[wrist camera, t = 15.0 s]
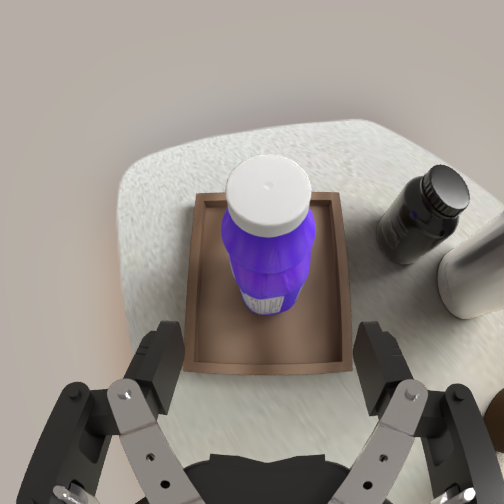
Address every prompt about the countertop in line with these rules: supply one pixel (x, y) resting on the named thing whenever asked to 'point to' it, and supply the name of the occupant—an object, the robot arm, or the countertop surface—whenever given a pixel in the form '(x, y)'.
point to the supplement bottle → (423, 215)
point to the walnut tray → (267, 326)
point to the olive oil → (496, 422)
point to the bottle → (268, 231)
